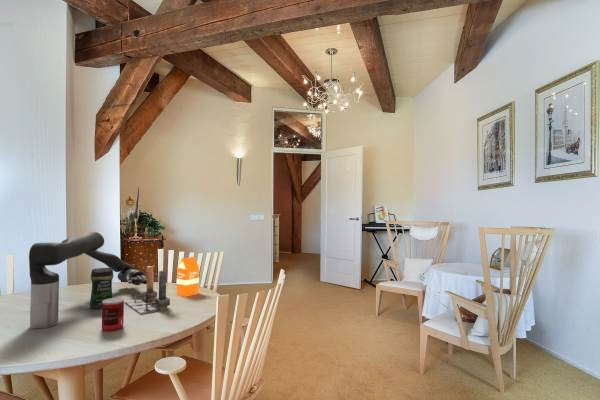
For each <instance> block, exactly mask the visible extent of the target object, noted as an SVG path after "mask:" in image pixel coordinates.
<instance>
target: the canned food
mask: <svg viewBox="0 0 600 400" xmlns="http://www.w3.org/2000/svg"><path fill="white" fill-rule="evenodd" d="M124 301H125V300H124V298H121V297H113V298H110V299H106V300H103V301H102V308H101V330H102V331H103V332H115V331H119V330H121V329H122V328H123V327H124V323H125V322H124V318H125V317H124V316H125V313H124V311H125V310H124V309H125V303H124Z"/></svg>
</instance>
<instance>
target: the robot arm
mask: <svg viewBox="0 0 600 400" xmlns="http://www.w3.org/2000/svg"><path fill="white" fill-rule="evenodd" d="M104 245H105V238H104V236H103V235H102V234H101V233H99V232H98V231H91V232H89V233H88V234H85V235H77V236H72V237H68V238H66V239H63V240H62V241H61V242H36V243H33V244H32V245H31V246H30V249H29V251H28V253H29V254H28V263H29V264H28V265H29V279H30V305H29V306H30V307H29V308H30V309H29V312H30V313H29V329H30V330H34V329H47V328H49V327H53V326H55V325H58V323H59V308H60V307H59V306H60V304H59V299H60V275H59V273H57V272H54V271H52V270H49V269H48V268H47V267H46V266H57V265H60V264H62V263H63V262H65V261H66V260H70V259H73V258H77V257H79V256H81V255H83V254H85V255H86V256H88V257H90V258H92V259H95V260H96V261H99V262H100V263H102V264H104V265H105V266H107V268H112V269H113V272H115V273H117V279H118V280H119V281H121V282H123V283H128V284H131V285H134V286H141V285H147V275H145V273H144V272H143V271H141V270H138V269H137V267H136V266H135V265H133V264H131V263H127V262H126V261H124V260H123V259H121V258H120V257H119V256H117V255H116V254H114V253H109V252H108V253H107V252H103V251H99V250H98V249H100V248H102V247H103V246H104Z"/></svg>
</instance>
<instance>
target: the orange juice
mask: <svg viewBox="0 0 600 400" xmlns="http://www.w3.org/2000/svg"><path fill="white" fill-rule="evenodd" d="M176 270H177V271H176V295H177V296H181V297H188V296H192V295H193V296H194V295H197V294H199V293H200V291H199V290H200V289H199V288H200V283H199V282H200V267H199V264H198V262H197V259H196V257H195V256H191V257H184V258H181V259H180V261H179V263H178V266H177V268H176Z"/></svg>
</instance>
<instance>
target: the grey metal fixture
mask: <svg viewBox="0 0 600 400" xmlns="http://www.w3.org/2000/svg"><path fill="white" fill-rule="evenodd" d="M144 300H145V299H144V298H143V297H142V300H141V299H140V298H136V302H134V299H130V300H124V305H126V306H128V307H130V308H131V309H132V310H133V311H135V312H136V313H137V314H139V315H146V314H150V313H151V314H152V313H156V312H157V310H159V311H166V310H168V307H169V306H170V305H171V298H169V297H168V296H167V270H159V271H158V297H157V298H155V297H149V298H148V300H145V302H144ZM157 308H158V309H157Z"/></svg>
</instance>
